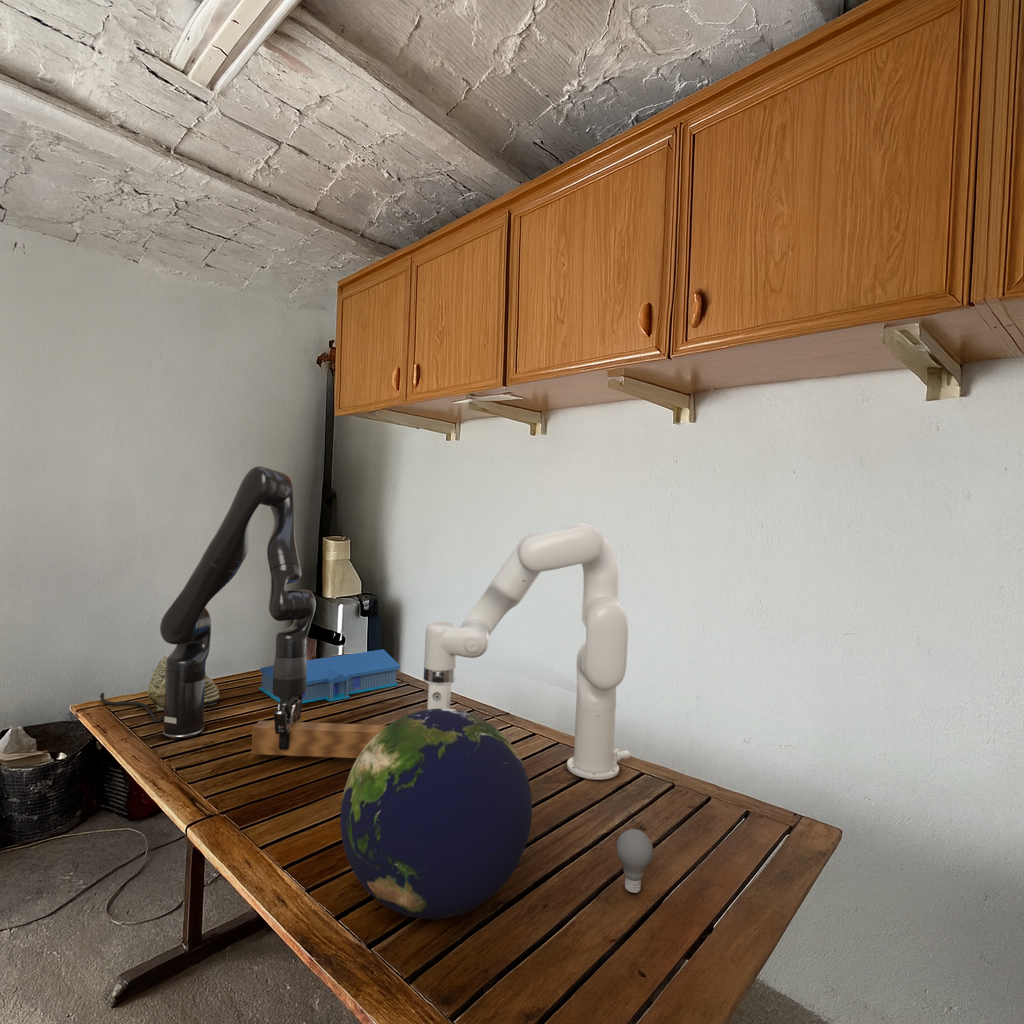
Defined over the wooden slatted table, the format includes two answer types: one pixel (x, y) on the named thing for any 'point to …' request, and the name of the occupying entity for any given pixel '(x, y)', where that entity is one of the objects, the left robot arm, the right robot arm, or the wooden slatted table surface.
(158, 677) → the fossil
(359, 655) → the model building
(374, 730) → the beam
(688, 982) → the wooden slatted table surface
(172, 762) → the wooden slatted table surface
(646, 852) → the light bulb
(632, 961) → the wooden slatted table surface
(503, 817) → the globe
